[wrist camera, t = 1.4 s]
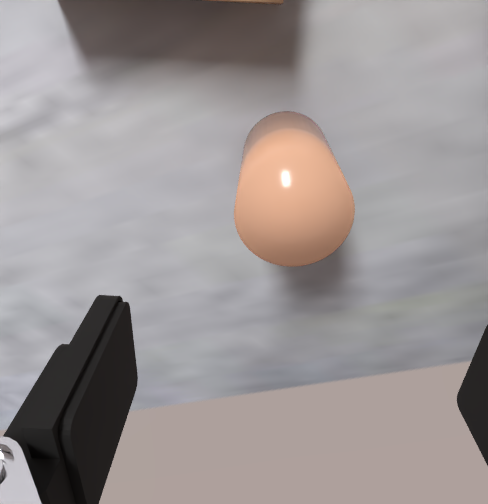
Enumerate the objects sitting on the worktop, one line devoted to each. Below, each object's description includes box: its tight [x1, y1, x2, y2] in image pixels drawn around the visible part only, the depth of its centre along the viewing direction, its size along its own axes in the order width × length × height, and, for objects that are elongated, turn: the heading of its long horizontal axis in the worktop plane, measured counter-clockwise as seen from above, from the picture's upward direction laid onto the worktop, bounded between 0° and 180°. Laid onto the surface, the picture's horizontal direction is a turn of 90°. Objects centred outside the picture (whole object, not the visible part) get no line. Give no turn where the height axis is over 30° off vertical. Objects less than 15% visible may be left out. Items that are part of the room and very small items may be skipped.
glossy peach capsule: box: [234, 111, 355, 266], centre depth 22 cm, size 5×5×9 cm
